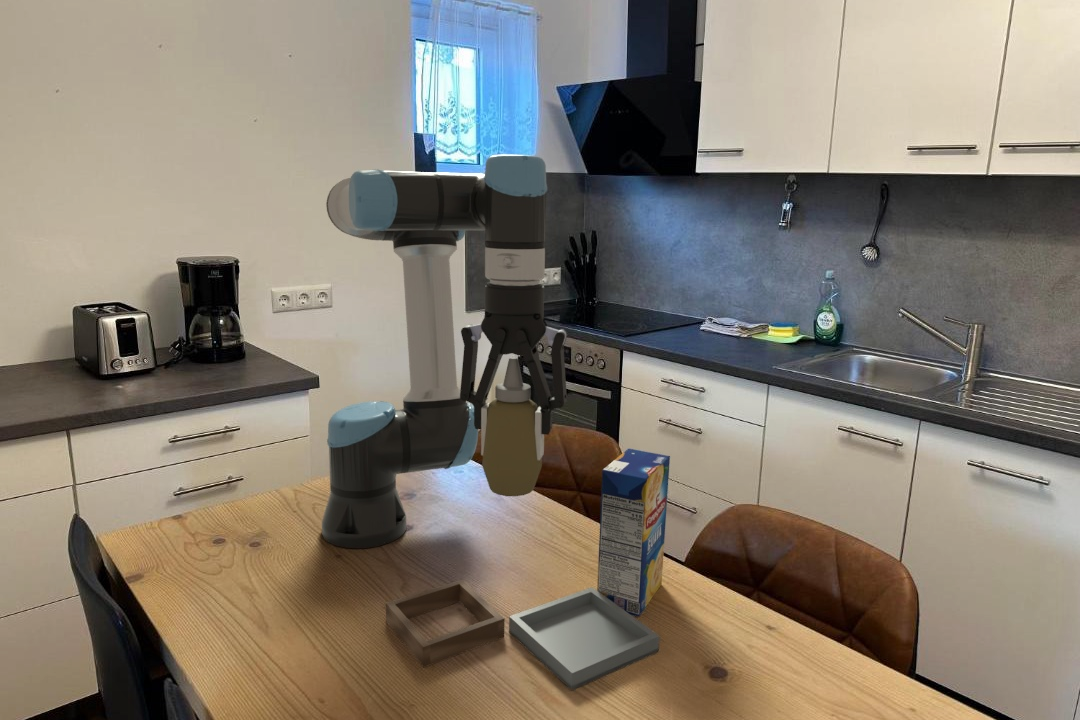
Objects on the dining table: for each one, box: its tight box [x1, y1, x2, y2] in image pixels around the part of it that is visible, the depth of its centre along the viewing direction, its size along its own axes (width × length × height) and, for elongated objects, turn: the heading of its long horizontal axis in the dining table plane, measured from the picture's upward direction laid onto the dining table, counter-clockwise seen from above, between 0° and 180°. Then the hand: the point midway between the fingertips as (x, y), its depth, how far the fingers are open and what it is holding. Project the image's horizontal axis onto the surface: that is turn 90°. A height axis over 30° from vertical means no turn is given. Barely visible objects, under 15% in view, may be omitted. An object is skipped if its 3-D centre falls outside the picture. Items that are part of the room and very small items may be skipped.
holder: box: [385, 579, 506, 668], centre depth 105 cm, size 12×12×3 cm
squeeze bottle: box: [481, 357, 543, 497], centre depth 97 cm, size 8×8×18 cm
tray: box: [508, 586, 661, 691], centre depth 103 cm, size 15×15×2 cm
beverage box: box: [596, 448, 671, 618], centre depth 113 cm, size 7×11×22 cm, turn 153°
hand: (512, 454), depth 98 cm, fingers closed on squeeze bottle, 6 cm apart
